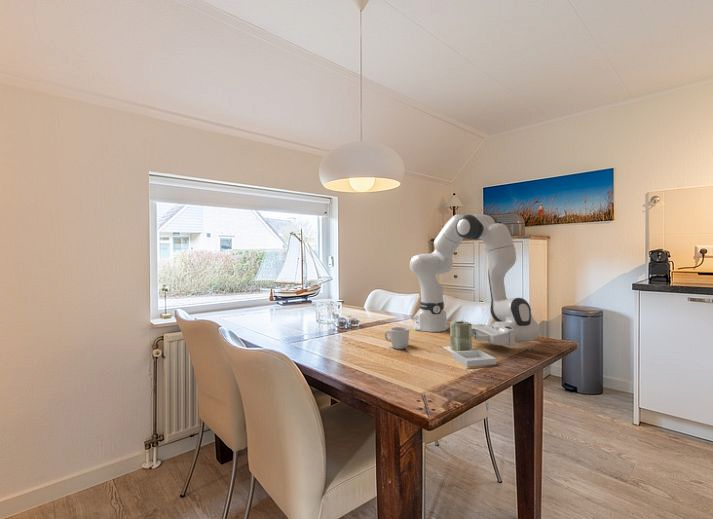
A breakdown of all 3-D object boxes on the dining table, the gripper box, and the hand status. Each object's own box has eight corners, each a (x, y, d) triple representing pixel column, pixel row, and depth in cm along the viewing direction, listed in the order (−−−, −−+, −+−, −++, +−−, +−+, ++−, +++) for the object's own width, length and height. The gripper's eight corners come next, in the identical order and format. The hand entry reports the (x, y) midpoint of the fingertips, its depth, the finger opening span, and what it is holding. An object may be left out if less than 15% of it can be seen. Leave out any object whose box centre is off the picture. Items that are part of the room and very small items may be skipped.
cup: (381, 348, 149) (381, 329, 149) (388, 343, 156) (388, 325, 156) (405, 351, 144) (405, 331, 144) (412, 346, 151) (411, 327, 151)
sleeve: (450, 348, 143) (450, 321, 142) (464, 347, 144) (464, 320, 144) (457, 352, 137) (457, 324, 137) (471, 351, 138) (471, 323, 138)
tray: (452, 359, 132) (452, 351, 132) (479, 357, 134) (479, 349, 134) (467, 369, 121) (466, 360, 121) (496, 366, 123) (496, 358, 123)
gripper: (486, 320, 154) (456, 321, 151) (516, 330, 134) (483, 332, 131) (486, 334, 154) (456, 336, 151) (516, 347, 134) (483, 349, 131)
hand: (469, 334), depth 141 cm, fingers open, 8 cm apart
